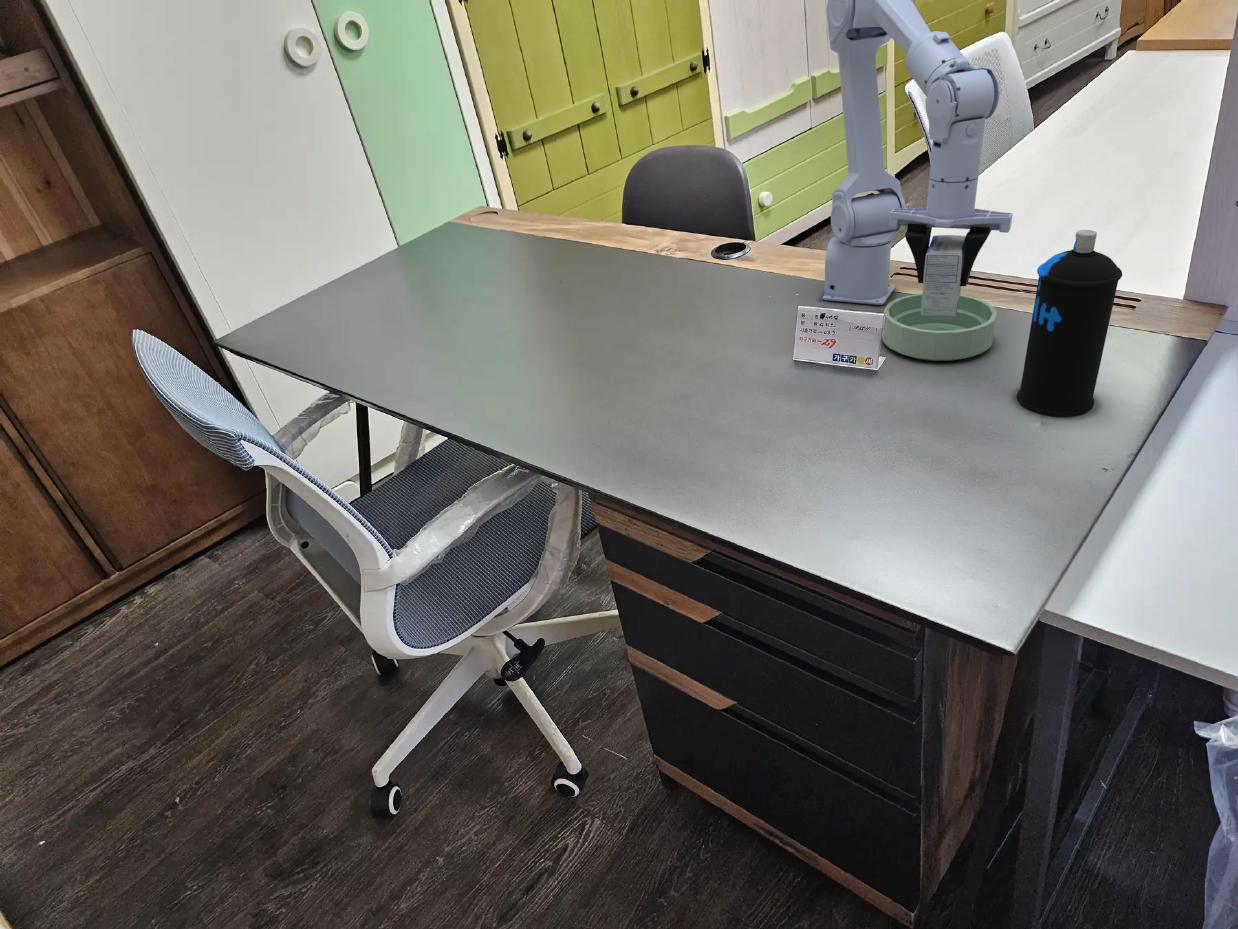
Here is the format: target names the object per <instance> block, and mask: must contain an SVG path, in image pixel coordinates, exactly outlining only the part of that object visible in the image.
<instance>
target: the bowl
mask: <svg viewBox="0 0 1238 929" xmlns="http://www.w3.org/2000/svg"><path fill="white" fill-rule="evenodd" d="M921 304H922V292H921V293H915V294H909V295H905V296H902V297H899V298H896V299H894V300H892V301H890V302H889V303H888V304H887V305H886V306H885V308H884V309H883V317H884V316H885V321H884V334H883V337H882V342H883V344H885V345H886V347H888V348H889V350H893V351H895V352H896V353H899V354H901V355H903V356H907V357H909V358H913V359H917V360H923V361H934V362H947V361H948V362H949V361H958V360H962V359H963V360H964V359H967V358H968V359H969V358H971V357H975V356H977V355H980V354H983V353H985V352H986V351H988V350H989V349H990V348H991V347H992V345H993V343H994V340H995V333H996V325H997V318H998V313H997V310H996V308H995V306H993V305H991V303H989V302H987V301H986V300H983V299H980V298H977V297H975V296H970V295H965V294H961V293H960V298H959V303H958V307H957V312H956V316H955V317H954V318H952V317H934V316H922V315H921Z"/></svg>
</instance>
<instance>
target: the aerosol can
mask: <svg viewBox="0 0 1238 929" xmlns="http://www.w3.org/2000/svg"><path fill="white" fill-rule="evenodd" d="M1097 235H1098V233H1097V232H1096V231H1095V230H1092V229H1081V230H1077V231H1076V232H1075V241H1074V244H1073V248H1072V249H1070V250H1066V251H1065V250H1064V251H1061V252H1059V253H1056V254H1054V255H1052V256H1051V257H1050V258H1048V259H1046V261H1045V262H1043V263H1042V264H1040V265H1039V266H1038V267H1037V270H1036V272H1037V275H1038V280H1037V287H1036V292H1035V299H1034V304H1033V310H1032V314H1031V316H1032V317H1031V322H1030V328H1029V333H1028V334H1029V335H1028V341H1027V345H1026V346H1027V347H1026V351H1025V352H1026V353H1025V358H1024V363H1023V369H1022V370H1023V371H1022V375H1021V376H1022V377H1021V382H1020V388H1019V389H1018V391H1017V393H1016V399H1017V401H1018V402H1019V404H1020V405H1022V407H1024V408H1025V409H1028V410H1030V411H1032V412H1035V413H1038V414H1041V415H1046V416H1052V417H1075V416H1079V415H1082V414H1085V413H1087V412H1089V411H1091V410H1092V409H1093V408H1094V406H1095V398H1094V394H1095V391H1096V387H1097V386H1096V385H1097V382H1098V376H1099V373H1100V372H1099V371H1100V366H1101V362H1102V357H1103V353H1104V348H1105V344H1106V339H1107V335H1108V331H1109V325H1110V322H1111V321H1110V320H1111V316H1112V312H1113V307H1114V302H1115V299H1116V294H1117V288H1118V283H1119V280H1121V279H1122V277H1123V271H1122V269H1121V267H1119V266H1118V265H1117V264H1116V263H1115V262H1114V261H1113V259H1112V258H1110V256H1107V255H1106V254H1103V253H1101V252H1099V251H1096V250H1095V244H1096V239H1097Z"/></svg>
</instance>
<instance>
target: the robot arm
mask: <svg viewBox="0 0 1238 929" xmlns="http://www.w3.org/2000/svg"><path fill="white" fill-rule="evenodd" d="M826 21H827V31H828V32H827V33H828V41H829V48H830V51H833V52H835V53H836V54H837V60H838V70H839V81H840V82H839V83H840V93H841V103H842V104H841V106H842V115H843V116H842V117H843V126H844V139H845V140H844V141H845V150H846V161H847V172H848V173H847V176H846V177H845V178H844V179H843V180H842V182H840V184H839V185H838V186H837V187H836V188H835V189H834V190H833V191H832V194H831V195H832V196H831V201H832V202H831V203H832V204H831V212H830V226H831V230H832V232H833V235H834V237H832V238H831V239H830V240H829V242H828V245H827V247H826V252H825V259H824V261H825V262H824V290H823V293H824V294H823V296H822V300H824V301H830V302H831V301H832V302H843V303H853V304H862V305H863V304H864V305H874V306H883V305H885V304H886V302H887V301H888V299H889V298H890V296H891V295H892V293H893V292H894V291H895V289H896V285H895V284H890V283H889V282H890V281H889V280H890V266H891V253H892V240H896V239H897V233H899V232H900V231H901V230H902V229H903V228H904V227H906V232H905V233H904V237H905V241H906V243H907V245H908V247H909V249H910V252H911V254H912V257H913V260H914V265H915V268H916V274H917V283H918V284H923V280H924V267H925V258H926V254H927V251H928V249H929V246H930V243H931V238H932V237H931V235H932V229H933V228H938V229H955V230H957V229H958V230H968V231H967V233H966V234H965V235H964V236H965V250H964V263H963V269H962V274H961V280H960V286H961V287H963V288H964V287H967V285H968V283H969V280H970V276H971V272H972V270H973V266H974V264H975V261H976V259H977V257H978V256H979V252H980V251H981V249H982V247H983V246H984V244H985V243H986V241H987V240H988V238H989V236H990V234H991V232H992V231H998V232H999V233H1003V234H1004V233H1005V234H1006V233H1007V234H1008V233H1009V232H1010V230H1011V228H1012V224H1013V223H1012V222H1013V216H1014V215H1013V212H1005V211H1004V212H1003V211H995V210H989V209H982V208H976V199H977V192H978V184H979V175H980V167H981V166H980V165H981V159H982V149H983V141H984V133H985V125H986V120H988V119H990V118H991V117H992V116H993V115H994V114H995V112H996V110H997V108H998V105H999V102H1000V83H999V79H998V78H997V75H996V74H995V73H994V69H992V68H991V67H989V66H982V67H981V66H978V65H976V64H975V65H972V64H971V62H970V61H969V60H968V59H967V58H966V57H965V56H964V54H963V53H962V52H961V51H960V49H959V48H958V47H957V46H956V44H955V42H953V41H952V39H951V36H950V35H949V33H948V32H947V31H938V30H937V31H936V30H935V31H931V29H930V28H929V26H928V25H927V23H926V21H925V20H924V18H923V17H922V15H921V14H920V12H919V10H918V8H917V7H916V5H915V4H914V0H827V3H826ZM891 39H892V40H893V42H895V43H896V44H897V45H898V47H900V49H901V50H902V51H903V52H904V53H905V54H906V55H905V59H904V60H905V61H904V66H905V69H906V71H907V73H908V74H909V76H910V77H911V78H912V80H913V81H914V82H915V84H916V85H917V86H918V88H919V89H920V90H921V91H922V93H923V94H924V95H925V97H926V98H925V112H926V116H927V120H928V135H929V140H931V141H932V142H931V143H932V145H931V153H930V154H931V155H930V164H929V165H930V166H929V176H928V186H927V198H926V207H909V208H907V205H906V201H905V199H904V196H903V193H902V186H901V181H900V180H899V179H898V178H896V177H895V176H893V175H892V174H890V173H889V172H888V171H886V169H885V162H884V151H883V150H884V149H883V139H882V138H883V137H882V125H881V111H880V110H881V109H880V99H879V98H880V97H879V86H878V74H877V72H878V71H877V60H876V56H877V54H878V51H879V49H880V47H881V48H882V46H884V45H886V44H887V43H889V42H890V41H891ZM867 192H878V193H874V194H866V195H862V196H856V195H858V194H862V193H867Z"/></svg>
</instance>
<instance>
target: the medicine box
mask: <svg viewBox="0 0 1238 929" xmlns="http://www.w3.org/2000/svg"><path fill="white" fill-rule="evenodd" d="M965 236H966V235H957V234H939V235H932V237H931V240H930V243H929V249H928V251H927V254H926V258H925V267H924V280H923V283H922V292H921V293H922V304H921V315H922V316H934V317H952V318H954V317H955V316H956V312H957V307H958V303H959V298H960V294H961V292H962V291H961V290H962V286H960V280H961V274H962V269H963V263H964V250H965Z"/></svg>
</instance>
